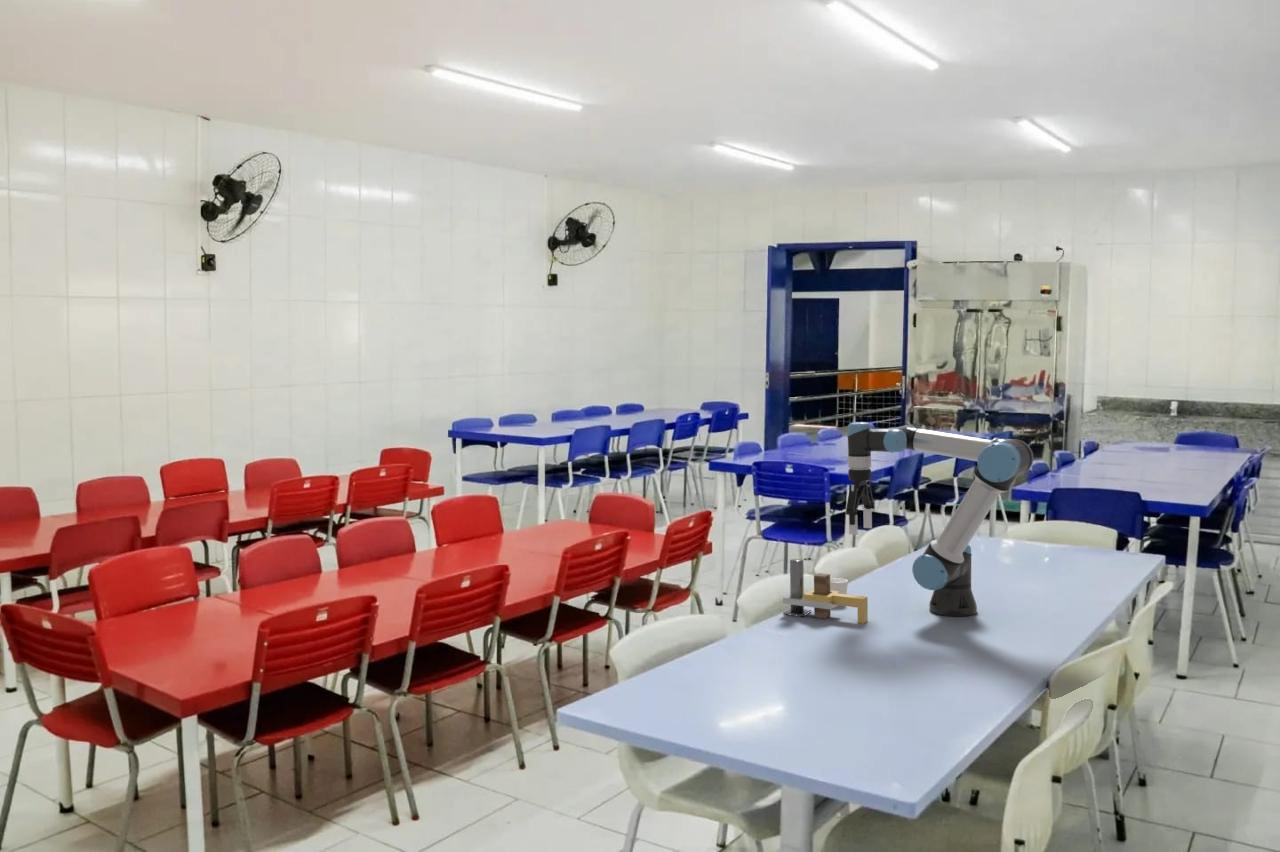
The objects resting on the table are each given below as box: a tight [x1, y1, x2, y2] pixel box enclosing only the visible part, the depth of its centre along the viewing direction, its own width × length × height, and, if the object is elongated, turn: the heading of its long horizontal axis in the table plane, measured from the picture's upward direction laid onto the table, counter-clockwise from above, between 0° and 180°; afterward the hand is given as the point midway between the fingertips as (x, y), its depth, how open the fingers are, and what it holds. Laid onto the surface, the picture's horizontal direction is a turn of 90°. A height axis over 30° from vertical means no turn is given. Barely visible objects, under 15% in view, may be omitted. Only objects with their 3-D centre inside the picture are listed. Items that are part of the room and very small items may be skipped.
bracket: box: [804, 588, 869, 625], centre depth 345 cm, size 20×9×8 cm, turn 57°
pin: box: [813, 572, 832, 619], centre depth 347 cm, size 4×4×14 cm
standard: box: [782, 558, 839, 617], centre depth 349 cm, size 18×9×18 cm, turn 57°
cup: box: [830, 577, 849, 594], centre depth 365 cm, size 7×10×8 cm
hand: (860, 531), depth 356 cm, fingers open, 13 cm apart
